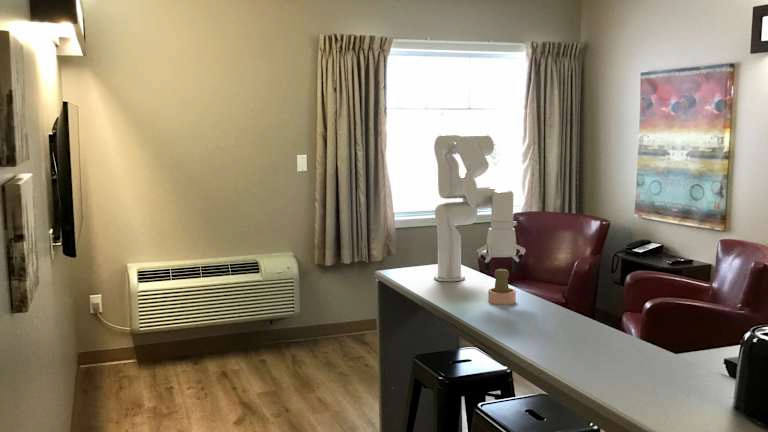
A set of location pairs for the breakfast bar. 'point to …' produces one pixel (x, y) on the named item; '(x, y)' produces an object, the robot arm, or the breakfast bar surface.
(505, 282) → the cork
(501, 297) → the pink faceted round bowl
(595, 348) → the breakfast bar surface
